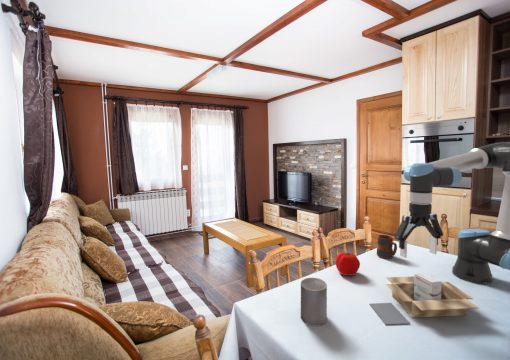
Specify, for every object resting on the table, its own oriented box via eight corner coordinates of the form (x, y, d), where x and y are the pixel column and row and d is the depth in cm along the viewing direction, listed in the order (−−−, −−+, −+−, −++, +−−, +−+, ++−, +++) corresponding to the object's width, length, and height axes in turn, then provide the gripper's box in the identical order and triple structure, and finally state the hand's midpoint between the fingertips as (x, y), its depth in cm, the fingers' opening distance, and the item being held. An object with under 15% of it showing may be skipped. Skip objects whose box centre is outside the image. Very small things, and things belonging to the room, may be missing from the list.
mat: (391, 303, 110) (391, 302, 110) (410, 324, 97) (410, 322, 97) (369, 304, 110) (369, 303, 110) (385, 325, 97) (385, 324, 97)
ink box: (441, 310, 105) (443, 281, 104) (431, 312, 104) (433, 283, 102) (422, 298, 113) (423, 271, 112) (412, 300, 112) (414, 273, 111)
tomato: (331, 274, 137) (331, 253, 136) (340, 266, 146) (340, 246, 145) (354, 281, 130) (355, 258, 128) (363, 272, 138) (363, 251, 137)
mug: (390, 262, 149) (391, 242, 148) (373, 255, 160) (373, 235, 159) (401, 259, 153) (402, 239, 152) (383, 252, 164) (384, 233, 162)
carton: (437, 288, 121) (438, 275, 120) (486, 323, 97) (487, 307, 96) (379, 290, 120) (379, 277, 120) (413, 326, 96) (413, 310, 95)
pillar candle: (299, 310, 107) (298, 274, 106) (323, 309, 107) (323, 274, 105) (302, 326, 98) (302, 287, 96) (329, 326, 97) (330, 286, 96)
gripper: (439, 199, 112) (436, 248, 114) (385, 202, 107) (384, 254, 110) (455, 202, 105) (453, 255, 107) (399, 206, 100) (397, 261, 102)
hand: (418, 254), depth 108 cm, fingers open, 13 cm apart
